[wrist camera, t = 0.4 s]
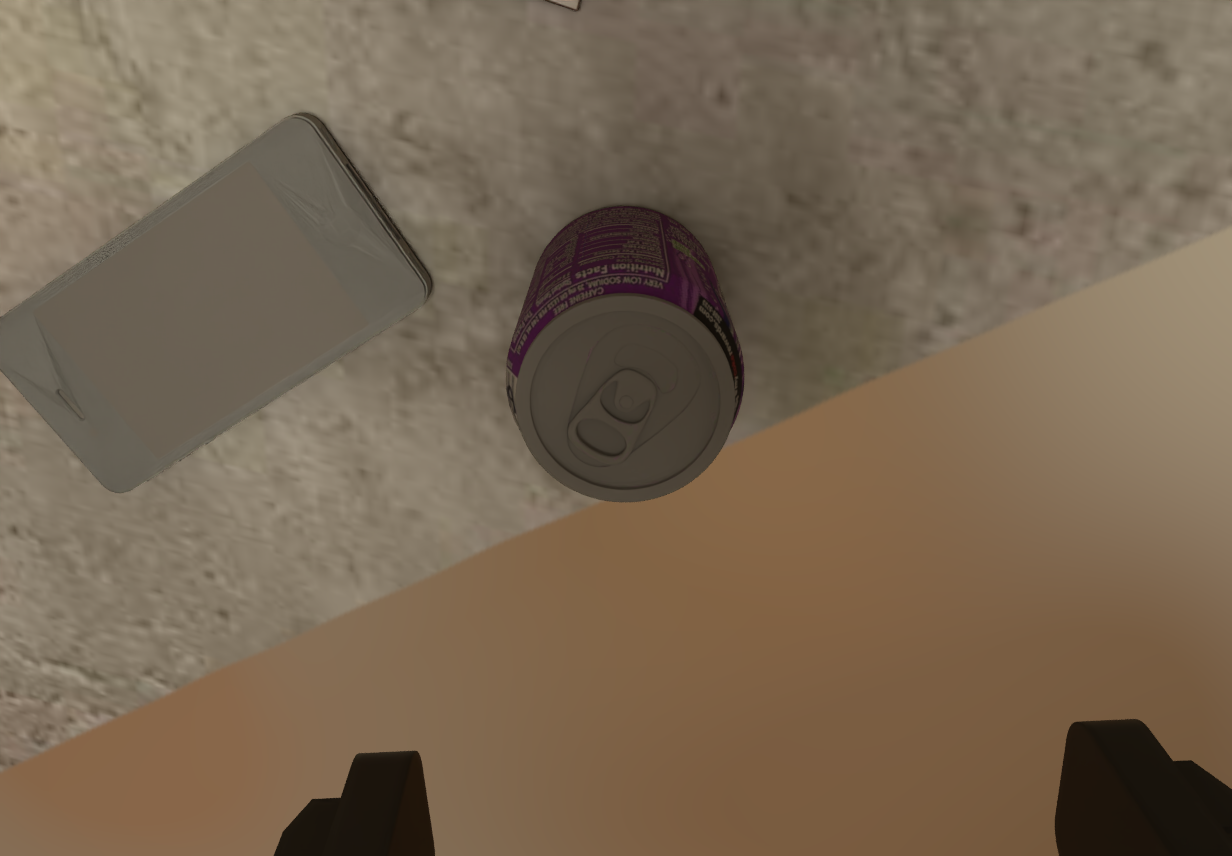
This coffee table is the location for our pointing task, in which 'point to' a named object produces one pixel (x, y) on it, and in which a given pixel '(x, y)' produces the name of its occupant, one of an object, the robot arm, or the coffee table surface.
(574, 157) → the coffee table surface
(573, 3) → the rod rack
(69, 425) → the phone
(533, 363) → the beverage can
